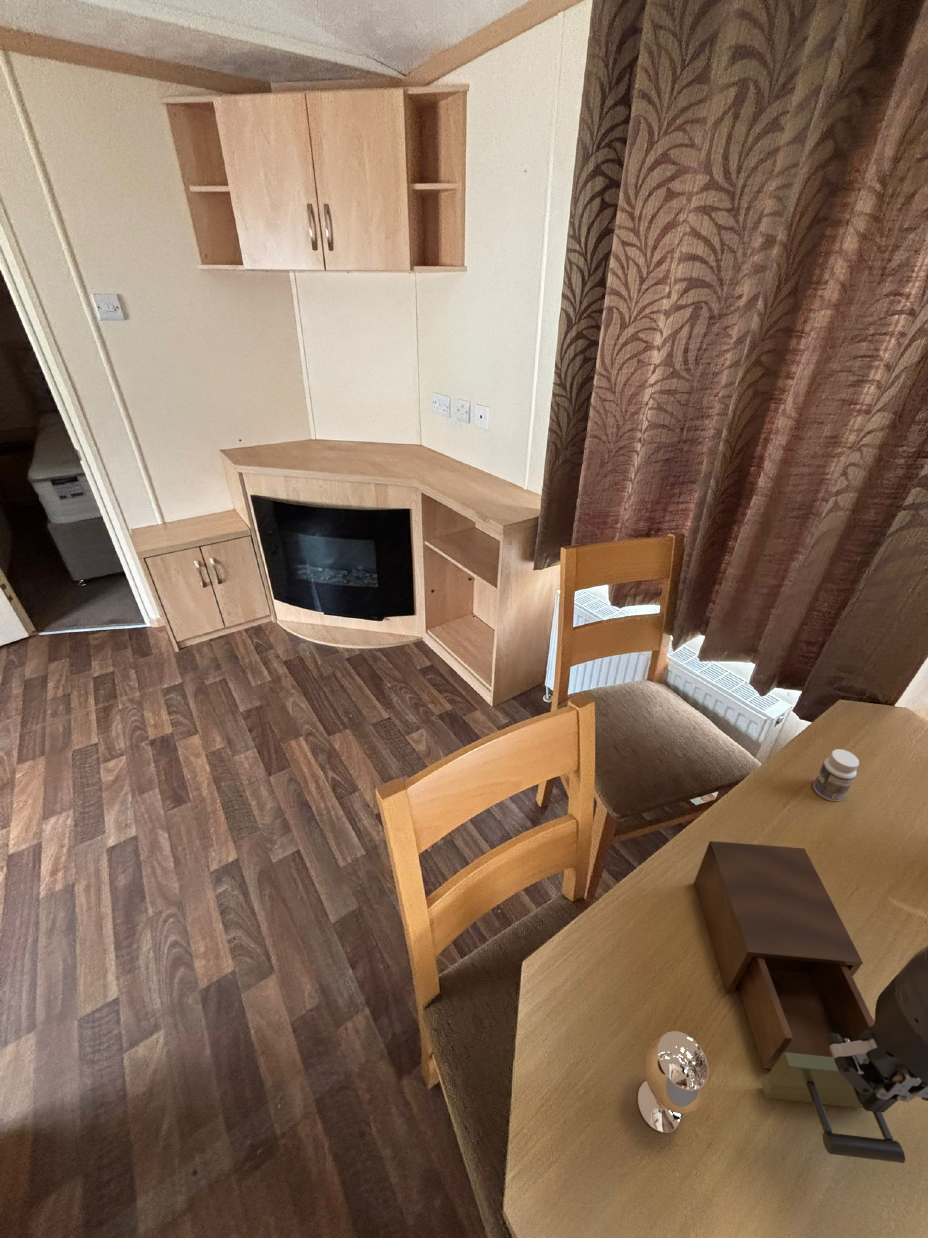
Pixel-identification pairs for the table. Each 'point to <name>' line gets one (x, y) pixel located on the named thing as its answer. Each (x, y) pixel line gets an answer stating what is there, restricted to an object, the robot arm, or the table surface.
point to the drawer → (810, 1041)
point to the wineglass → (672, 1081)
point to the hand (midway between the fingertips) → (867, 1098)
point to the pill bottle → (836, 775)
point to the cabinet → (768, 909)
